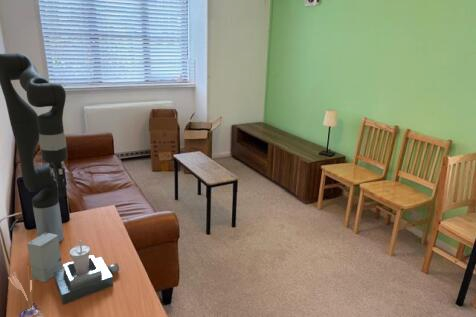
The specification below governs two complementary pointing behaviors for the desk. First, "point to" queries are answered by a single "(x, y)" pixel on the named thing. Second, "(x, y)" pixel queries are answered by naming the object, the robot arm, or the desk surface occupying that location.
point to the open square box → (84, 279)
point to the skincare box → (45, 256)
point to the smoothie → (80, 258)
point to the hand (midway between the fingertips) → (59, 190)
